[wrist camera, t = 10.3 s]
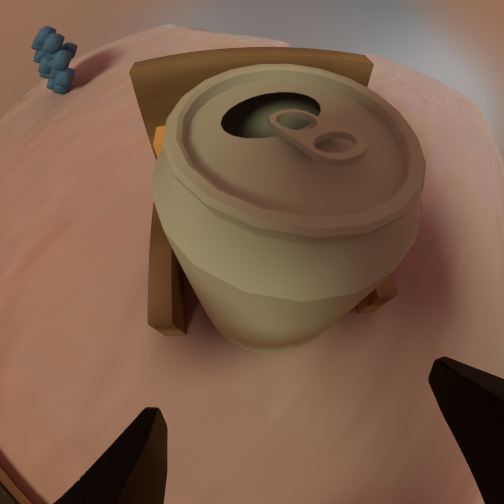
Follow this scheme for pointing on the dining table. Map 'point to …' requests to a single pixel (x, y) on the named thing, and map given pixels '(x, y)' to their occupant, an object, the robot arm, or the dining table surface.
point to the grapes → (54, 59)
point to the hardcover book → (10, 491)
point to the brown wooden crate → (155, 114)
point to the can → (286, 199)
